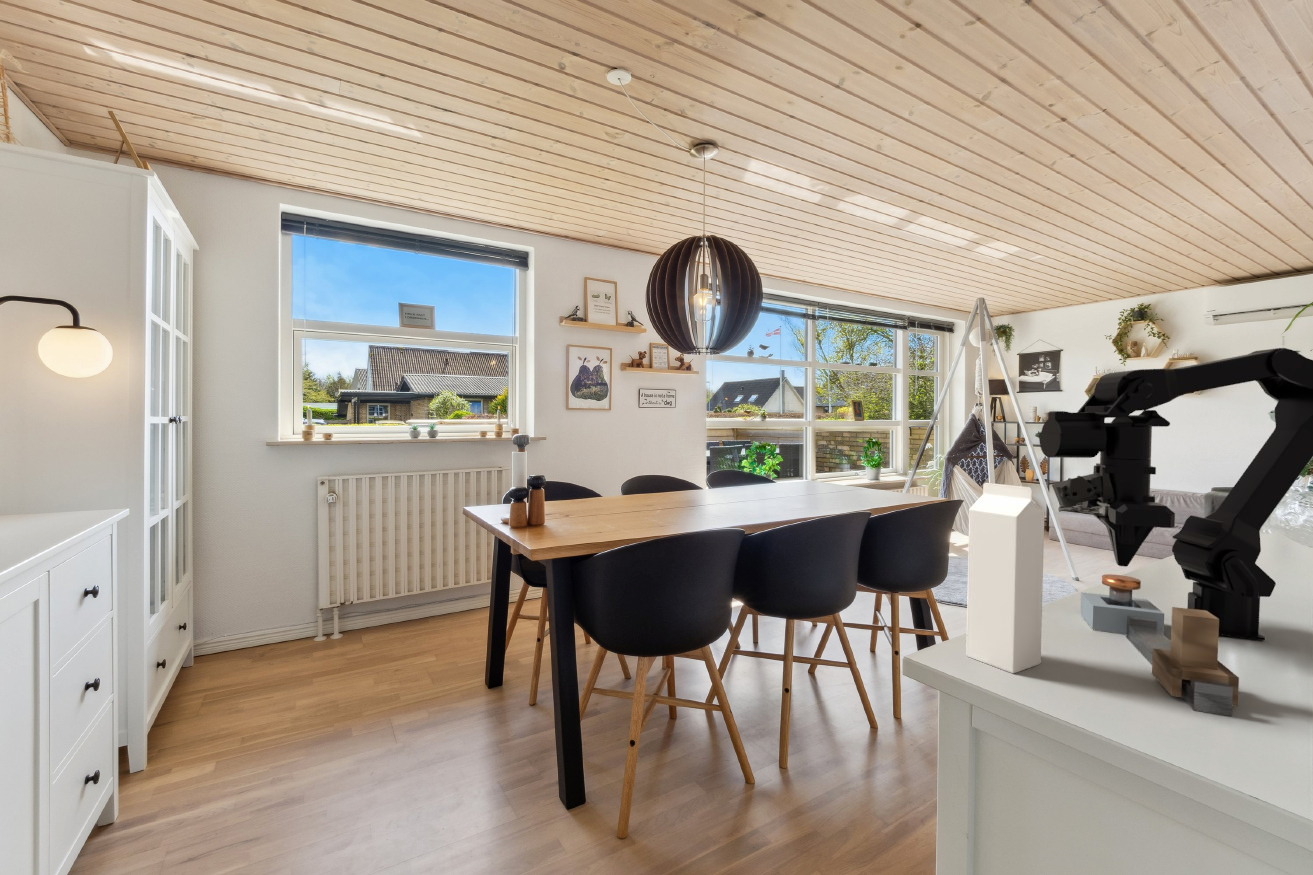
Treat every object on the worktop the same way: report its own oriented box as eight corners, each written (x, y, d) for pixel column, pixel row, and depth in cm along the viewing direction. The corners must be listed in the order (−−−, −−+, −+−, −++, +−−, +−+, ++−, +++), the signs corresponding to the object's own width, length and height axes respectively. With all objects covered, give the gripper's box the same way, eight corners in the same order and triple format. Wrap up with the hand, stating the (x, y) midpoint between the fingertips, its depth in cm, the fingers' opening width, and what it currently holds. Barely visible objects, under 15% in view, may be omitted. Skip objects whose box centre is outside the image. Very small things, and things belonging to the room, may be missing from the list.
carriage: (1211, 682, 66) (1214, 608, 66) (1237, 705, 61) (1241, 625, 60) (1151, 673, 68) (1154, 601, 68) (1171, 695, 63) (1174, 617, 63)
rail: (1153, 640, 80) (1154, 618, 79) (1231, 716, 59) (1232, 687, 59) (1126, 637, 81) (1127, 615, 81) (1193, 710, 61) (1194, 681, 61)
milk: (1013, 674, 69) (1017, 489, 68) (964, 656, 74) (968, 483, 74) (1041, 663, 72) (1046, 485, 71) (993, 646, 77) (996, 480, 76)
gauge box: (1145, 622, 87) (1146, 599, 86) (1163, 638, 80) (1164, 613, 80) (1080, 614, 90) (1081, 592, 90) (1092, 629, 84) (1093, 605, 83)
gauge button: (1134, 606, 86) (1135, 576, 86) (1144, 615, 82) (1145, 584, 82) (1097, 602, 88) (1098, 572, 88) (1105, 611, 84) (1106, 580, 84)
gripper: (1046, 453, 96) (1044, 547, 97) (1072, 461, 79) (1069, 575, 80) (1130, 454, 91) (1127, 553, 92) (1178, 463, 74) (1174, 585, 75)
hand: (1122, 565), depth 85 cm, fingers closed
